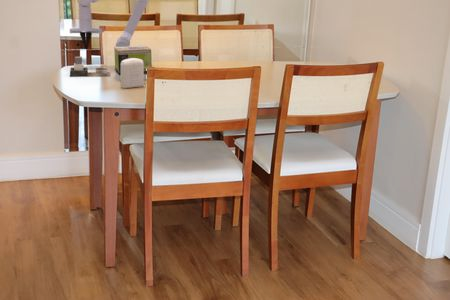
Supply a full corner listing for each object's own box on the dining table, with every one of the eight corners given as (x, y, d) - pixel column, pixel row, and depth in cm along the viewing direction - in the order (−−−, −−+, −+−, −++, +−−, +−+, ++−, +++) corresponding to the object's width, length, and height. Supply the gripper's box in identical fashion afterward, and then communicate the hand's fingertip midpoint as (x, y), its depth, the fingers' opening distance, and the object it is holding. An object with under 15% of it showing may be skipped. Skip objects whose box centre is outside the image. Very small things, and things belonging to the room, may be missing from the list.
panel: (110, 74, 292) (110, 66, 291) (110, 78, 284) (110, 71, 283) (70, 74, 289) (70, 67, 288) (69, 79, 281) (69, 71, 280)
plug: (83, 73, 288) (83, 56, 285) (83, 75, 284) (82, 57, 281) (74, 73, 287) (74, 56, 284) (74, 75, 283) (73, 58, 281)
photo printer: (141, 84, 275) (140, 56, 271) (145, 86, 272) (145, 58, 268) (119, 87, 270) (118, 58, 266) (123, 89, 266) (122, 60, 262)
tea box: (147, 77, 290) (147, 45, 285) (152, 82, 281) (152, 49, 276) (115, 78, 285) (114, 45, 280) (118, 83, 276) (117, 49, 271)
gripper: (68, 20, 286) (70, 50, 291) (101, 20, 289) (102, 50, 293) (69, 18, 293) (70, 47, 297) (101, 18, 295) (102, 47, 300)
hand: (86, 48), depth 296 cm, fingers closed
